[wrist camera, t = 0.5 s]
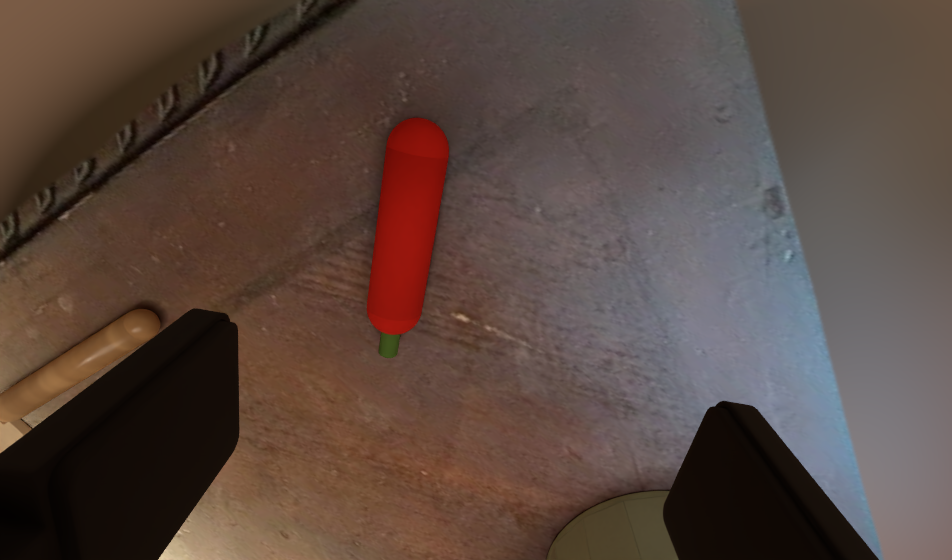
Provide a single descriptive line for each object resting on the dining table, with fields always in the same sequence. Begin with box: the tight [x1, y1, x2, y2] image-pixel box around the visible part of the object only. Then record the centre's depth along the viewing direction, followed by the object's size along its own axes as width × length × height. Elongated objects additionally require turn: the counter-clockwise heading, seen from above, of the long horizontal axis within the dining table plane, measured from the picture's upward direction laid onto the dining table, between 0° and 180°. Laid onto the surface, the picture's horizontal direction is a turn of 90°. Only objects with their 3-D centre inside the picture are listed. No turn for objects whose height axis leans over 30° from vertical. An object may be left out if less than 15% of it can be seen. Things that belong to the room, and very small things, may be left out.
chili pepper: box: [367, 118, 449, 358], centre depth 23 cm, size 12×3×3 cm, turn 169°
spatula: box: [0, 309, 160, 453], centre depth 28 cm, size 21×5×2 cm, turn 121°
